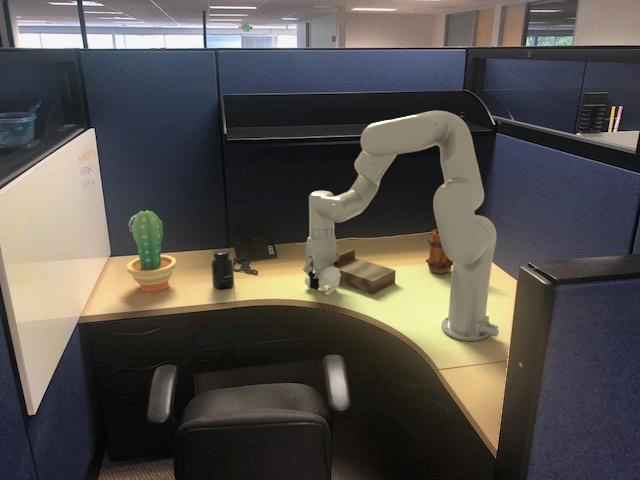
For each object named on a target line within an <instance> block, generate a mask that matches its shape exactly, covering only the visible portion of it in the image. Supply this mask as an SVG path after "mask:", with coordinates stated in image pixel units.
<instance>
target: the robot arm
mask: <svg viewBox="0 0 640 480" xmlns="http://www.w3.org/2000/svg"><path fill="white" fill-rule="evenodd" d="M434 146H437V147H439V154H440V158H439V160H440V166H441V169H442V174H443V181H444V183H442V184H441V185H440V186H439V187H438V188H437V190H436V192H435V193H434V196H433V201H432V202H433V203H432V205H433V213H434V217H435V223H436V227H437V230H438V231H439V236H440V240H441V244H442V248H443V250H444V252H445V254H446V256H447V257H448V258H449V259H450V260H451V261H452V262H453V265H452V267H451V280H450V292H449V293H450V294H449V302H448V303H449V304H448V305H449V306H448V316H447V317H445V318H444V319H442V322H441V330H442V332H444V333H445V334H446V335H448V336H449V337H452V338H453V339H456V340H461V341H465V342H466V341H467V342H475V341H477V342H478V341H481V340H485V339H486V338H488V337H489V335H490V336H492V337H494V338H495V337H496V338H497V337H498V336H499V334H500V333H499V332H500V330H499V325H497V324H494V323H491V322H490V316H489V315H487V306H488V297H489V288H490V279H491V271H492V266H493V264H492V263H493V258H494V253H495V251H496V250H495V248H496V245H497V230H496V227H495V225H494V223H493V222H492V221H491V220H490V219H489V218H488V217H485V216H482V215H478V214H477V215H476V214H475V211H476V210H477V209H479V207H481V205H482V204H483V202H484V199H485V191H484V186H483V181H482V177H481V173H480V168H479V165H478V159H477V155H476V152H475V146H474V142H473V137H472V134H471V132H470V129H469V126H468V125H467V123H465V121H464V120H463V118H461V117H460V116H459V115H456V114H454V113H451V112H449V111H444V110H431V111H424V112H421V113H417V114H412V115H408V116H405V117H400V118H399V117H398V118H395V119H387V120H381V121H377V122H373V123H370V124H369V125H367V127H365V128H364V129H363V131H362V133H361V136H360V147H361V149H362V150H361V152H360V153H359V155H358V157H357V158H356V159H355V161H354V169H355V171H356V173H357V174H358V175H357V178H356V179H355V181H354V183H353V184H352V185H351V187H350V189H349V190H347V191H346V192H343V193H341V194H339V195H334V194H333V192H331V191H327V190H315V191H313V192H311V193H310V194H309V196H308V210H309V211H308V215H309V216H308V218H309V220H308V221H309V222H308V223H309V236H308V237H307V240H306V245H305V246H306V247H305V261H304V262H305V265H304V267H303V268H302V271H304V273H305V274H306V276H307V275H308V276H309V277H310V289H312V290H315V291H319V289H320V288H319V279H318V278H317V276H318V272H319V270H320V269H322V268H324V267H327V266H333V267H335V266H336V265H337V262H338V260H339V258H340V256H339V254H338V251H337V250H338V249H337V240H336V235H335V223H343V222H346V221H347V220H350V219H351V218H354V217H356V216H357V215H358V216H359V215H360V214H362V213H363V212H364V210H365V209H366V208H368V206H369V205H370V203H371V202H372V200H373V199H374V197H375V195H377V192H378V190H379V187H380V183H381V179H382V178H383V176H384V174H385V172H386V171H388V168H389V167H390V165H391V164H392V163H393V162H394V160H395V159H396V157H397V156H398V155H401V154H406V153H413V152H420V151H422V150H426V149H429V148H432V147H434Z"/></svg>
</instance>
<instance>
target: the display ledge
mask: <svg viewBox="0 0 640 480" xmlns="http://www.w3.org/2000/svg"><path fill="white" fill-rule="evenodd" d="M338 255H339V256H340V258H339V260H338V262H337V265H336V266H335V267H336V268H338V269H339V271H340V274H341V277H340V282H339V284H342V285H345V286H348V287H351V288H353V289H356V290H358V291H362V292H365V293H367V294H370V295H375V294H377V293H379V292H381V291H383V290H384V289H386V288H388V287H390V286H392V285H394V284H396V273H397V272H396V269H393V268H390V267H386V266H383V265H380V264H376V263H375V262H374V263H373V262H370V261H367V260H363V259H361V258H358V257H356V256H355V255H356V249H355V248H351V249H349V250H346V251H344V252H342V253H340V254H338Z"/></svg>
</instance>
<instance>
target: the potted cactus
mask: <svg viewBox="0 0 640 480" xmlns="http://www.w3.org/2000/svg"><path fill="white" fill-rule="evenodd" d="M128 221H129V222H128V227H129V231H130V233H132V237H133V240H134V241H135V243H136V245H137V250H138V256H139V257H137V258H134V259H133V260H131V261H129V262H127V264H126V270H127V272H128V273H129V274H131V277H132V278H133V280H134V282H136V283H137V284H138V285H139V286H140V287H139V288H140V290H141V291H143V292H147V293H148V292H149V293H152V292H153V293H154V292H159V291H162V290H165V289H166V288H168V287H169V281H170V279H171V278H172V275H173V272H174V269H175V268H176V262H177V260H176V258H175V257H173V256H171V255H166V254H165V255H163V254H161V253H162V251H161V247H162V246H161V244H162V240H163V235H164V231H163V229H164V227H163V222H162V220H161V219H160V218H159V216H157V215H156V213H155V212H154V211H153V210H151V211H149V209H147V210H145V211H143V210H140V211H139V212H138V213H136V214H134V215H132V216H131V218H130V219H129V220H128Z"/></svg>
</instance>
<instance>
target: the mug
mask: <svg viewBox="0 0 640 480" xmlns="http://www.w3.org/2000/svg"><path fill="white" fill-rule="evenodd" d="M427 242H428V244H429V256H428V258H427V259H426V260H425V262H426V263H427V265H428V269H429V271H431V272H432V273H435V274H446V273H448V272H450V271H452V267H453V262H452V261H451V260H450V259H449V258H448V257H447V256H446V254H445V252H444V250H443V248H442V244H441V240H440V236H439V231H438V229H433V230H432V231H431V235H430V238H429V239H427Z"/></svg>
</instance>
